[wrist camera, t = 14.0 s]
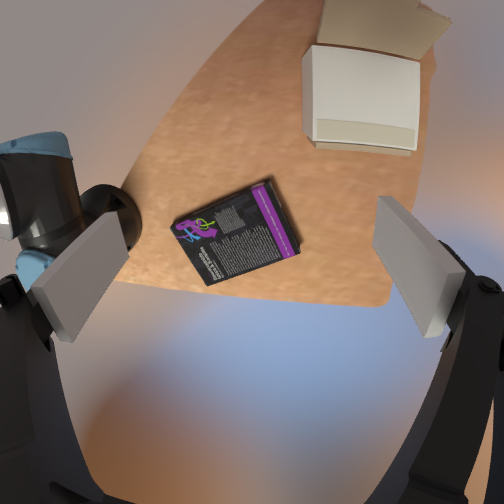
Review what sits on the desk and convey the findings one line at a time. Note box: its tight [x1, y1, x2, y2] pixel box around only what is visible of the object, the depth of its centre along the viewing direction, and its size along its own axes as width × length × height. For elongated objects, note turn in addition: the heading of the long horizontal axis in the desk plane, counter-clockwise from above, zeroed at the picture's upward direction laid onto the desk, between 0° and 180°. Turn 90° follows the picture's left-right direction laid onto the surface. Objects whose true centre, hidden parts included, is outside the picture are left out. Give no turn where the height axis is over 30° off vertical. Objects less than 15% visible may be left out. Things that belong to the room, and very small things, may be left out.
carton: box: [302, 45, 420, 157], centre depth 34 cm, size 14×13×12 cm
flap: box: [316, 0, 452, 60], centre depth 15 cm, size 13×18×2 cm
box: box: [169, 179, 301, 286], centre depth 51 cm, size 14×4×20 cm
